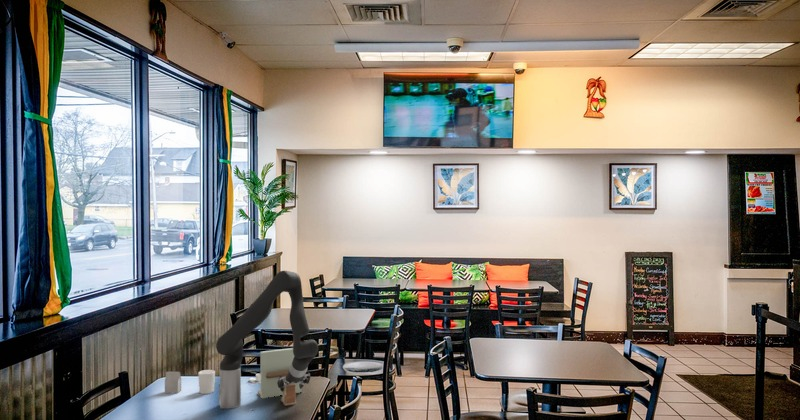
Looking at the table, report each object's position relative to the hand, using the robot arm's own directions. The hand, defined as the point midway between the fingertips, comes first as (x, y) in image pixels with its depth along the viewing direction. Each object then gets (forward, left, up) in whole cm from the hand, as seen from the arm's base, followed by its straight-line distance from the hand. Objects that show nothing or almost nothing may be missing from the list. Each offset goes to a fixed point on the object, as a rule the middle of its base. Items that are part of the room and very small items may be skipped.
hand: (291, 388), depth 259 cm
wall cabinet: (0, +4, -8) cm, 9 cm away
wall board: (0, +19, -8) cm, 20 cm away
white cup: (-32, +39, -8) cm, 51 cm away
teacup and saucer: (-5, +49, -9) cm, 50 cm away
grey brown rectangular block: (-47, +47, -8) cm, 67 cm away
